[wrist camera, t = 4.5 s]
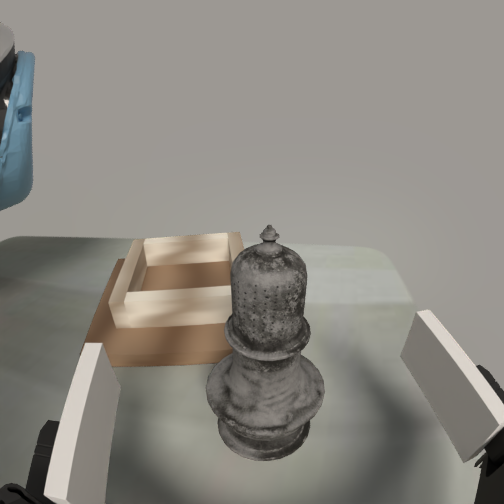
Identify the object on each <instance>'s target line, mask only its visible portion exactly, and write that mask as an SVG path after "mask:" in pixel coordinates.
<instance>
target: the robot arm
mask: <svg viewBox="0 0 504 504" xmlns="http://www.w3.org/2000/svg"><path fill="white" fill-rule="evenodd" d="M34 64H35V56H34V54H33V53H31V52H26V53H25V52H24V51H19V52H18V53H17V54H15V49H14V34H13V31H12V29H11V28H9V27H8V26H6V25H4V24H3V23H1V22H0V211H1V210H4V209H6V208H8V207H11V206H13V205H16V204H18V203H20V202H22V201H23V200H24V199H25V198H26V197H27V196H28V195H29V193H30V191H31V188H32V185H33V159H32V116H31V115H32V97H33V80H34V79H33V78H34ZM400 357H401V358H402V360H403V361H404V363H405V364H406V366H407V368H408V369H409V371H410V372H411V374H412V376H413V377H414V379H415V380H416V382H417V384H418V385H419V387H420V388H421V390H422V392H423V393H424V395H425V397H426V398H427V400H428V402H429V403H430V405H431V407H432V408H433V410H434V412H435V413H436V415H437V417H438V419H439V420H440V422H441V424H442V425H443V427H444V429H445V431H446V432H447V434H448V436H449V438H450V440H451V441H452V443H453V445H454V447H455V449H456V450H457V452H458V454H459V456H460V458H461V459H462V461H463V463H465V462H467V461H469V460H470V459H472V458H474V457H476V456H477V455H478V454H479V453H480V452H481V451H482V450H483V449H485V450H486V453H485V454H484V455H483V456H482V457H481V458H480V459H479V460H478V461H477V462H476V463H475V466H474V467H477V466H478V465H479V464H480V463H481V462H482V461H483V462H482V464H481V465H480V467H479V468H481V474H480V479H479V484H478V489H477V494H476V498H475V502H474V504H504V391H503V390H502V389H501V388H500V386H499V384H498V383H497V382H495V379H494V378H493V376H492V375H491V374H490V372H489V371H488V370H486V369H485V368H483V367H482V366H481V365H478V366H475V365H474V364H473V362H472V361H471V360H470V358H469V357H468V356H467V355H466V353H465V352H464V351H463V350H462V348H461V347H460V346H459V345H458V343H457V342H456V341H455V340H454V338H453V337H452V336H451V335H450V333H449V332H448V331H447V330H446V329H445V327H444V326H443V325H442V324H441V323H440V321H439V320H438V319H437V318H436V317H435V316H434V314H433V313H432V312H431V311H430V310H424V311H419V312H416V314H415V317H414V320H413V323H412V326H411V329H410V332H409V334H408V337H407V340H406V343H405V345H404V348H403V350H402V353H401V356H400ZM120 389H121V387H120V385H119V382H118V380H117V378H116V375H115V373H114V371H113V368H112V366H111V364H110V361H109V359H108V356H107V354H106V351H105V349H104V346H103V343H85V345H84V348H83V351H82V354H81V356H80V359H79V362H78V365H77V368H76V371H75V374H74V377H73V380H72V383H71V386H70V390H69V393H68V396H67V399H66V403H65V406H64V410H63V413H62V417H61V420H60V422H59V421H51V420H48V421H47V422H46V424H45V425H44V426H43V428H42V429H41V430H40V433H39V437H38V440H37V445H36V448H35V451H34V453H35V455H33V459H32V463H31V467H30V472H29V476H28V480H27V485H26V489H24V488H23V487H21V486H20V485H18V484H13V483H10V484H6V485H4V486H3V487H2V488H1V489H0V504H105V496H106V486H107V476H108V468H109V459H110V452H111V444H112V437H113V431H114V424H115V418H116V412H117V406H118V400H119V395H120Z"/></svg>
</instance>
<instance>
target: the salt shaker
mask: <svg viewBox="0 0 504 504" xmlns="http://www.w3.org/2000/svg"><path fill="white" fill-rule="evenodd" d="M260 238H261V239H263V243H260V244H257V245H253V246H251V247H249V248H246V249H244V250H243V251H241V252H240V253H239V254H238V256H237V257H236V258H235V259H234V261H233V263H232V267H231V272H230V278H231V298H232V315H231V316H229V318H228V319H227V321H226V323H225V327H224V333H225V338H226V340H227V342H228V343H229V345H230V346H231V347H232V348H233V353H232V354H230V355H228V356H226V357H225V358H223V359H222V360H221V361H220V362H219V363H218V364H217V365H216V366H215V367H214V368H213V370H212V372H211V373H210V375H209V377H208V381H207V385H206V392H207V400H208V403H209V405H210V406H211V408H212V410H213V412H214V413H215V414H216V415H217V417H218V418H219V419H218V428H219V434H220V436H221V438H222V439H223V441H224V443H225V444H226V445H227V446H228V447H229V448H230V449H231V450H232V451H233V452H235V453H237V454H239V455H240V456H242V457H245V458H248V459H252V460H258V461H271V460H276V459H281V458H283V457H285V456H288V455H290V454H292V453H293V452H295V451H296V450H297V449H298V448H299V447H301V446H302V444H303V443H304V441H305V440H306V438H307V436H308V433H309V429H310V420H311V419H312V418H313V417H314V416H315V414H316V413H317V411H318V410H319V408H320V407H321V405H322V401H323V397H324V393H325V390H324V381H323V378H322V376H321V374H320V372H319V370H318V369H317V368H316V367H315V366H314V364H313V363H312V362H311V361H310V360H308V359H307V358H305V357H304V356H302V355H301V350H303V349H304V347H305V346H306V345H307V343H308V342H309V338H310V335H311V332H310V325H309V324H308V322H307V320H306V319H305V318H304V317H303V314H304V305H305V295H306V285H307V271H306V265H305V263H304V262H303V260H302V259H301V257H300V256H299V255H298V254H297V253H296V252H294V251H293V250H291V249H289V248H287V247H285V246H282V245H280V244H278V243H276V242H275V241H276V239H278V238H279V234H277V233H276V231H275V229H274V228H272V226H271V225H268V226H267V228H265V229H264V230H263V233H261V234H260Z"/></svg>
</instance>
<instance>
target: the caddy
mask: <svg viewBox="0 0 504 504" xmlns="http://www.w3.org/2000/svg"><path fill="white" fill-rule="evenodd" d="M243 250H244V247H243V243H242V239H241V235H240V232H233V233H217V234H202V235H190V236H189V235H188V236H175V237H162V238H148V239H136V240H133V243H132V245H131V247H130V249H129V252H128V254H127V257H126V259H118V261H117V263H116V265H115V267H114V270H113V272H112V274H111V277H110V279H109V281H108V283H107V286H106V288H105V291H104V293H103V295H102V298H101V300H100V303H99V305H98V308H97V310H96V313H95V315H94V318H93V320H92V323H91V325H90V328H89V331H88V333H87V336H86V339H85V342H84V344H83V347H82V350H81V353H80V356H81V354H82V351H83V348H84V345H85V343H103V346H104V349H105V351H106V354H107V356H108V359H109V361H110V364H111V366H112V367H135V366H172V365H192V364H208V363H219V362H220V361H221V360H222V359H223V358H225V357H226V356H228V355H230V354H232V353H233V348H232V347H231V346H230V345H229V343H228V342H227V340H226V338H225V333H224V327H225V323H226V321H227V319H228V318H229V316H231V315H232V298H231V278H230V272H231V267H232V263H233V261H234V259H235V258H236V257H237V256H238V254H239V253H240V252H241V251H243Z"/></svg>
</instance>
